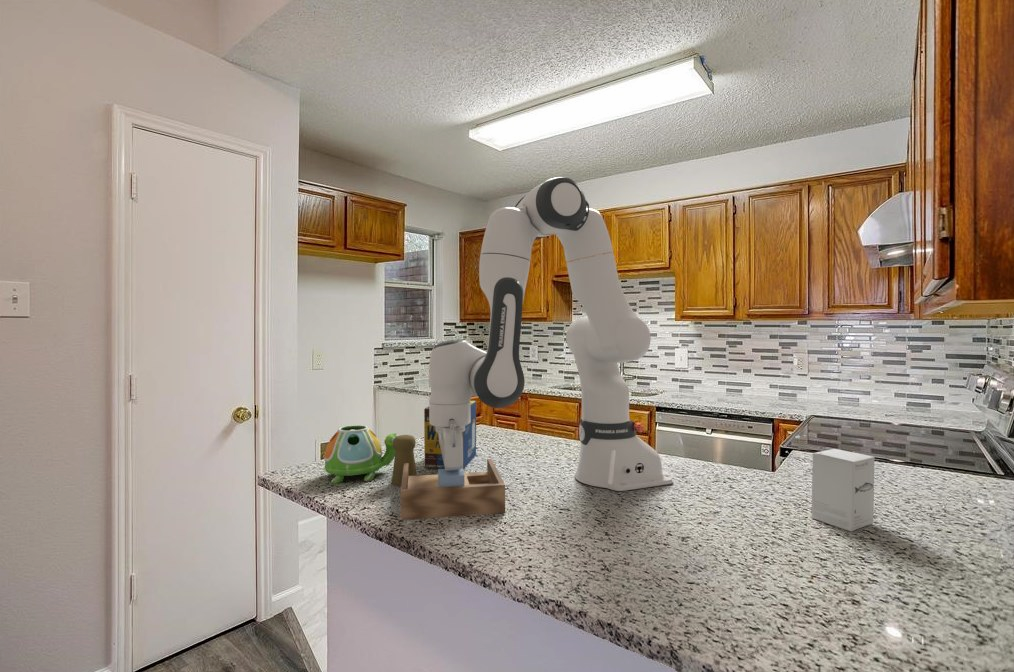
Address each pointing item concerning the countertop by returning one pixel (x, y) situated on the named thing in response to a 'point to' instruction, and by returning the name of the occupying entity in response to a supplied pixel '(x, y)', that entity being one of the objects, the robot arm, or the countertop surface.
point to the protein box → (433, 446)
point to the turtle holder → (357, 453)
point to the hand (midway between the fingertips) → (450, 479)
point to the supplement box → (843, 488)
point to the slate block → (450, 478)
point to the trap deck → (452, 495)
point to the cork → (403, 457)
